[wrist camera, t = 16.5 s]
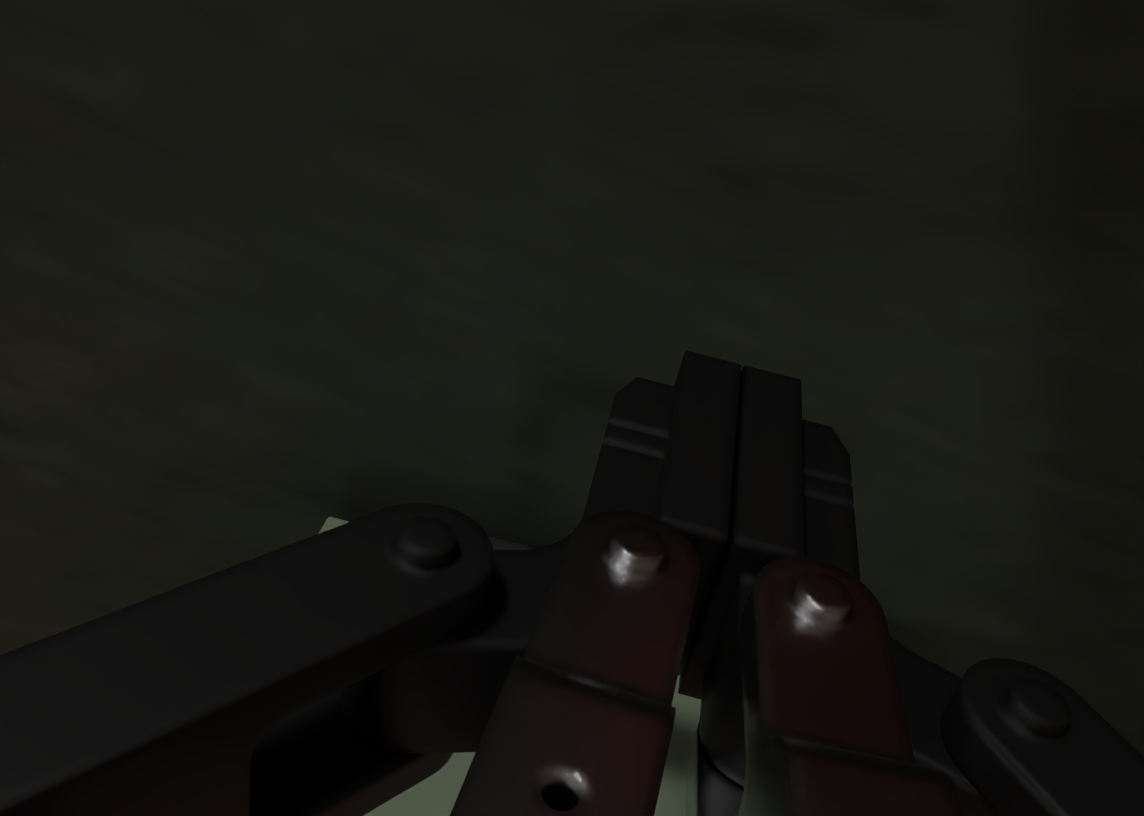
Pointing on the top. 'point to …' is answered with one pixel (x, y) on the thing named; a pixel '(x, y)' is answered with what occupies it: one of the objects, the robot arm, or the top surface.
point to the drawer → (432, 800)
